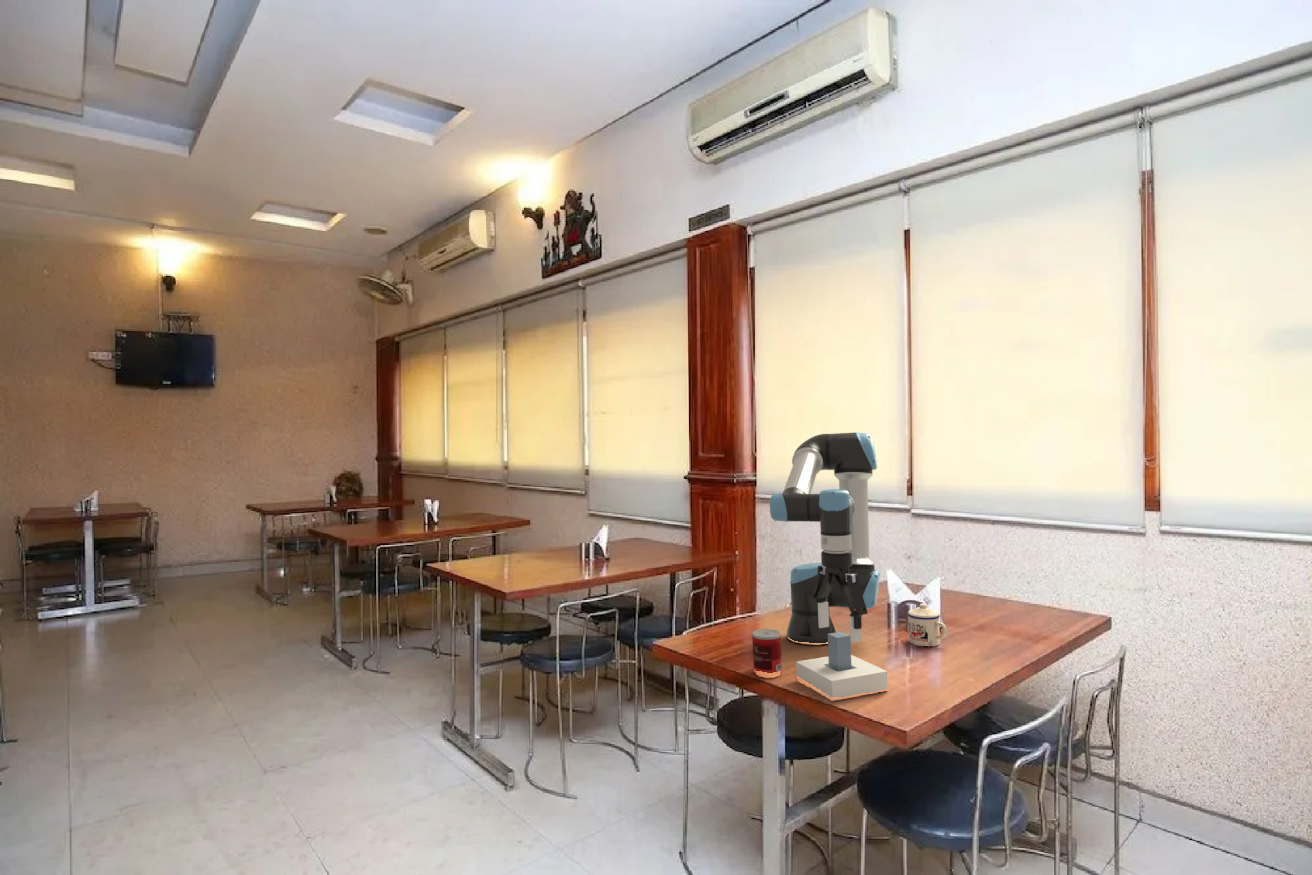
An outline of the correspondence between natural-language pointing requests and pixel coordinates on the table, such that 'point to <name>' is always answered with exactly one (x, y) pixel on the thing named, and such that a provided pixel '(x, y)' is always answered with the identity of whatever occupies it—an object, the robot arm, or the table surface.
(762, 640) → the canned food
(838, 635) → the peg
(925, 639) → the teacup with lid
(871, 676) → the socket block
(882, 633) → the table surface
